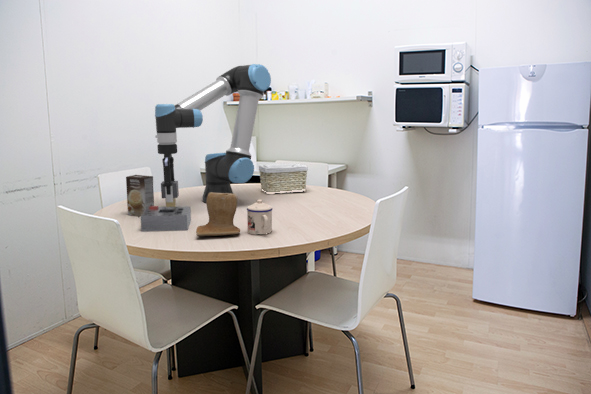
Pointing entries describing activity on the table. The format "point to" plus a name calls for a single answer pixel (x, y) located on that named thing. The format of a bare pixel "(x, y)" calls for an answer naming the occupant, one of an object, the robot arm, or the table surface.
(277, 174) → the storage basket
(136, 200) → the coffee box
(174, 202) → the plug
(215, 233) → the brown wooden upright piece
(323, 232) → the table surface
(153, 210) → the socket plate
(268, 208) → the teacup with lid
